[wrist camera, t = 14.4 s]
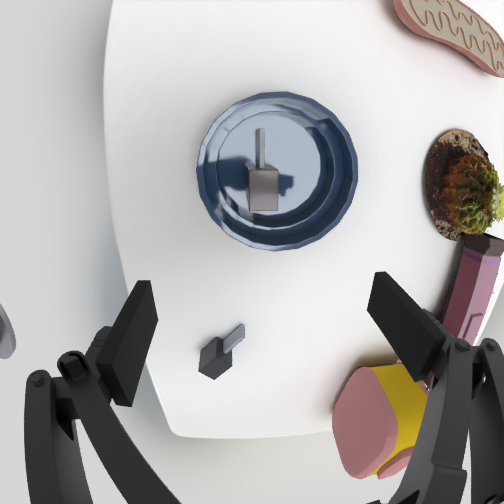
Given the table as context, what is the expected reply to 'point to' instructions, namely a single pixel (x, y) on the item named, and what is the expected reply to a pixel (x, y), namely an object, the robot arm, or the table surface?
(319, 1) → the table surface
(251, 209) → the blade walnut
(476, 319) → the electronic device
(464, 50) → the anatomical model
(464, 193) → the cactus
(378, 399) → the alarm clock
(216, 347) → the cube with grey tab
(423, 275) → the table surface
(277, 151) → the bowl
